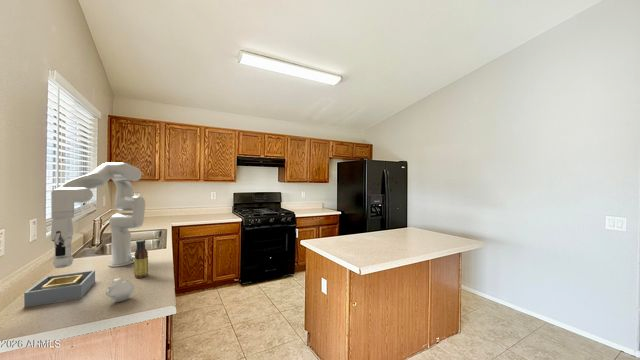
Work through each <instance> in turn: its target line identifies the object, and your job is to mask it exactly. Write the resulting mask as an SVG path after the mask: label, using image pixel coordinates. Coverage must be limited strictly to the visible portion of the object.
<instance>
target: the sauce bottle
mask: <svg viewBox="0 0 640 360" xmlns="http://www.w3.org/2000/svg"><path fill="white" fill-rule="evenodd" d="M135 241H136V242H135V244H136V248H135V249H136V250H135V252H134V255H133V256H134V262H133V263H134V265H133V268H134V269H133V270H134V272H133V274H134V277H135V278H136V279H141V278H142V279H143V278H145V277H147V276H149V256H148V254H149V252H148V250H147V249H146V239H138V240H135Z"/></svg>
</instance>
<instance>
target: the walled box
mask: <svg viewBox="0 0 640 360" xmlns="http://www.w3.org/2000/svg"><path fill="white" fill-rule="evenodd" d="M82 274H83V281H82V282H81V284H79V285H72V286H65V287H58V288H51V289H44V290H41V287H42V286H44V285H45V284H46V283H47V282H49V281H50V280H51V279H53V278H59V277H67V276H75V275H82ZM95 283H96V270H94V269H93V270H88V271H79V272H70V273H64V274H55V275H47V276H45V278H42V279H41V280H40V281H39V282H37V283H36V284H35V285H33V286H32V287H30V288H29V289H28V290H26V291H25V292H23V293H24V295H23V300H24V308H29V307H28V306H30V307H34V306H42V305H48V304H54V303H60V302H64V301H72V300H78V299H82V298H83V297H84V295H86V294H87V292H88V291H89V290H90V289H91V288H92V286H93V285H94V284H95Z"/></svg>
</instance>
